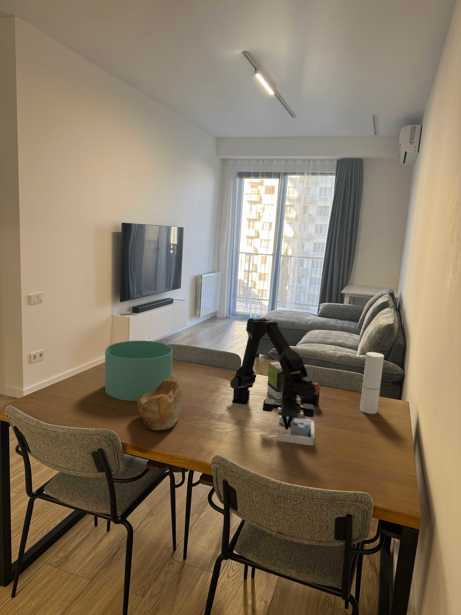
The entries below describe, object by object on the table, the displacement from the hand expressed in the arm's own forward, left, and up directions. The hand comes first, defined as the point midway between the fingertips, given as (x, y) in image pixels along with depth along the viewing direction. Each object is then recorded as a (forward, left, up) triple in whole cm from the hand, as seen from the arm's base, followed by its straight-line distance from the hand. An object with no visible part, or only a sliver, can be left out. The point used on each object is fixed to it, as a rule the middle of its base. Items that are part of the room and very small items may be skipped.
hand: (286, 429), depth 158 cm
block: (+5, -1, -1) cm, 5 cm away
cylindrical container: (+34, +31, -1) cm, 46 cm away
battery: (+9, +30, -1) cm, 31 cm away
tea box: (-2, +38, -1) cm, 38 cm away
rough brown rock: (-49, -4, -1) cm, 49 cm away
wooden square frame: (+3, +13, -1) cm, 13 cm away
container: (-68, +24, -1) cm, 72 cm away
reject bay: (+3, 0, -1) cm, 4 cm away
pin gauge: (+3, +13, 0) cm, 13 cm away
